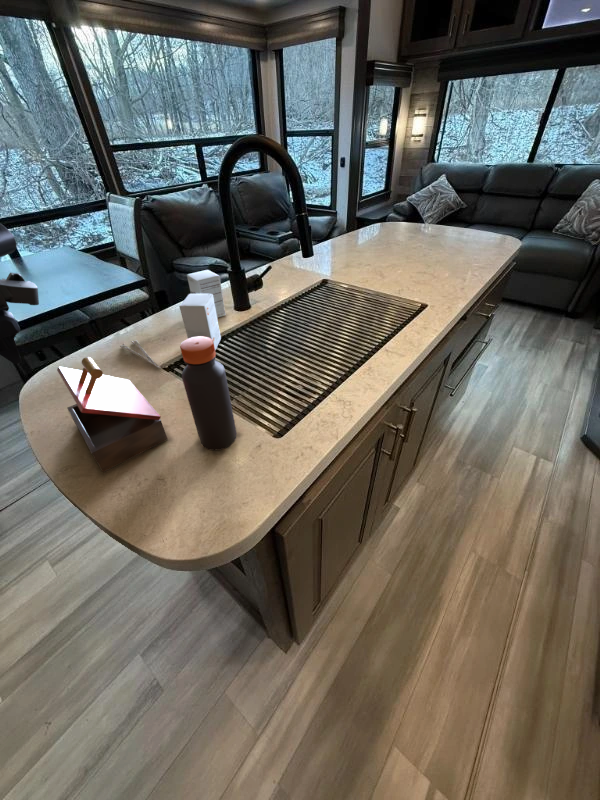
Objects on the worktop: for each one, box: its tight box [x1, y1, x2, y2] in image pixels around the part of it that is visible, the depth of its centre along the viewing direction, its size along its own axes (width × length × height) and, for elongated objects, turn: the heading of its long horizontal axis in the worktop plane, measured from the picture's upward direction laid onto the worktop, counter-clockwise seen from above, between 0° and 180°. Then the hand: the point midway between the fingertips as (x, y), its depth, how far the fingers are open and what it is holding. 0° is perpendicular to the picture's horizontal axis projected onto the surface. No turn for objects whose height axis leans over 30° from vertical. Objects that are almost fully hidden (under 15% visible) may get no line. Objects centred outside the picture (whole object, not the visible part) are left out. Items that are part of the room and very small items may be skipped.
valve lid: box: [56, 356, 162, 420], centre depth 58 cm, size 12×16×5 cm
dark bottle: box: [179, 336, 237, 451], centre depth 56 cm, size 7×7×20 cm
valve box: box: [67, 403, 169, 473], centre depth 62 cm, size 12×16×5 cm
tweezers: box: [119, 339, 162, 369], centre depth 85 cm, size 17×5×2 cm, turn 47°
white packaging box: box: [186, 269, 227, 319], centre depth 101 cm, size 7×7×13 cm
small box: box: [179, 293, 222, 351], centre depth 86 cm, size 8×6×13 cm
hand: (14, 353), depth 64 cm, fingers open, 9 cm apart
